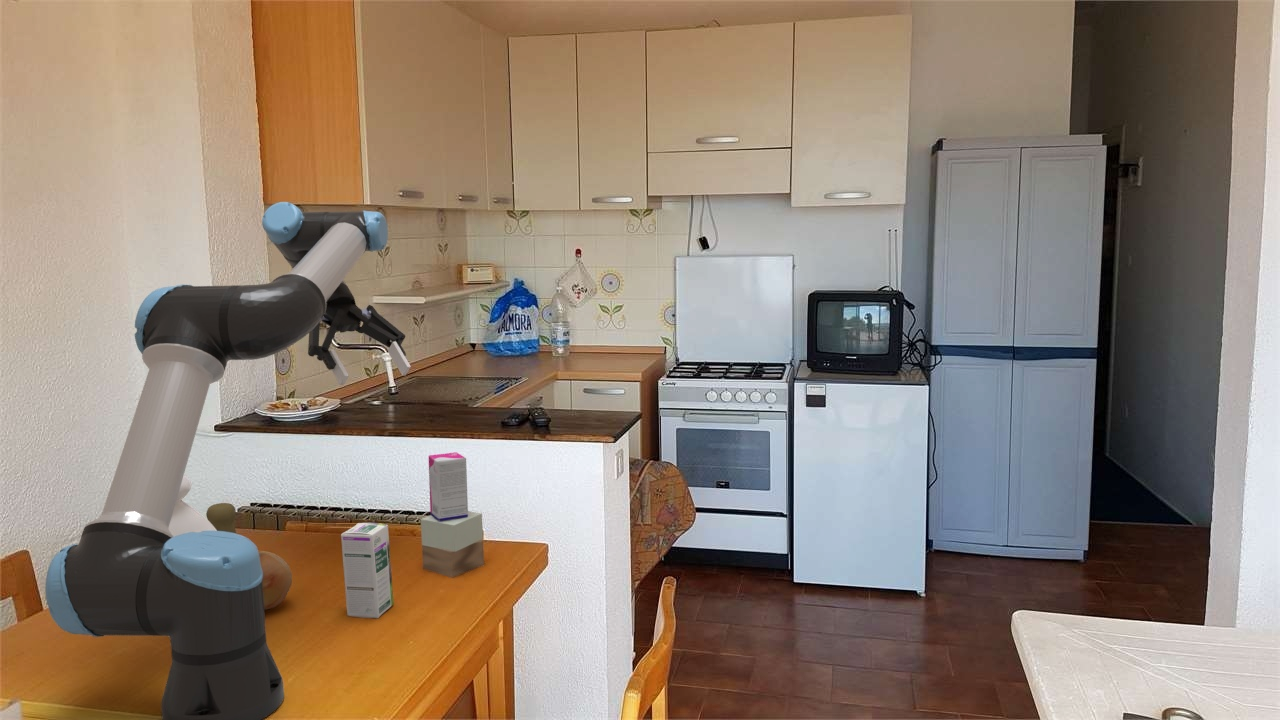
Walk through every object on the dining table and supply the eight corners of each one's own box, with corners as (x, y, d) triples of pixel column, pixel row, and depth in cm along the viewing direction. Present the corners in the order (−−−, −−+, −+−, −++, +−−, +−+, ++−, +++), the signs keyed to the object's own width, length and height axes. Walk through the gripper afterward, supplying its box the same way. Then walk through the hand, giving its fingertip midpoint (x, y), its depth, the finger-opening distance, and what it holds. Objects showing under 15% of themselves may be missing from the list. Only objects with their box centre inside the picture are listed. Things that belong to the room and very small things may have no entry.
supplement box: (469, 517, 179) (466, 457, 178) (438, 522, 177) (435, 461, 175) (459, 509, 185) (456, 450, 183) (429, 514, 182) (426, 455, 180)
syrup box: (378, 619, 158) (373, 534, 156) (345, 616, 159) (340, 532, 157) (394, 605, 164) (389, 523, 162) (362, 603, 165) (357, 521, 163)
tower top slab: (455, 551, 176) (454, 525, 175) (421, 545, 180) (420, 519, 179) (482, 539, 182) (481, 513, 182) (450, 532, 186) (449, 507, 186)
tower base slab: (451, 578, 176) (450, 552, 175) (423, 569, 181) (421, 543, 180) (484, 565, 182) (483, 540, 182) (455, 557, 187) (454, 532, 186)
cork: (207, 556, 189) (203, 502, 187) (240, 551, 191) (236, 498, 190) (208, 566, 183) (203, 510, 182) (242, 561, 186) (238, 506, 184)
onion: (306, 604, 165) (303, 547, 163) (256, 624, 156) (252, 566, 155) (270, 593, 170) (266, 538, 168) (219, 612, 162) (215, 555, 160)
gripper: (376, 301, 202) (423, 379, 194) (263, 311, 183) (309, 397, 175) (390, 277, 197) (438, 355, 190) (275, 284, 179) (323, 371, 171)
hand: (376, 375), depth 182 cm, fingers open, 13 cm apart
